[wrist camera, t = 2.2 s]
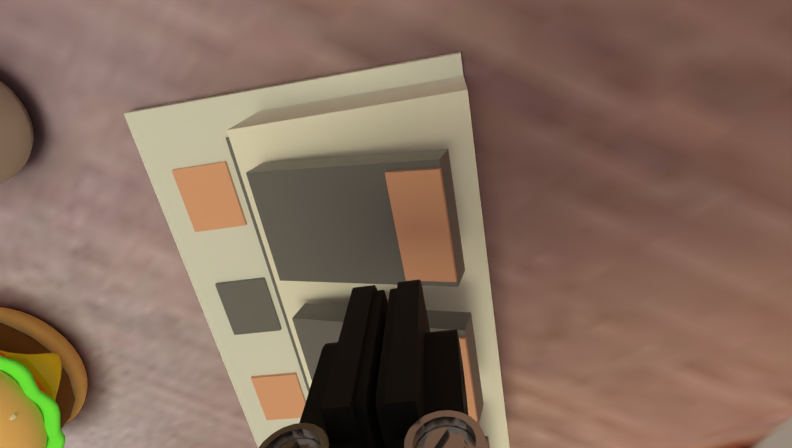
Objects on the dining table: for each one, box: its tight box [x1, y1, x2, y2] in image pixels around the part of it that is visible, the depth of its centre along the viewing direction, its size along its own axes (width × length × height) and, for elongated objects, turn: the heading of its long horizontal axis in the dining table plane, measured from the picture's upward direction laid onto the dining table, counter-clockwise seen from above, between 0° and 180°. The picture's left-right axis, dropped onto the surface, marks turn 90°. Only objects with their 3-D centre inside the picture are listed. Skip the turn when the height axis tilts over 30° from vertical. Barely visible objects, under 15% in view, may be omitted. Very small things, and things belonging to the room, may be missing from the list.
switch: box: [246, 148, 465, 287], centre depth 19 cm, size 8×5×1 cm, turn 100°
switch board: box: [124, 52, 509, 448], centre depth 26 cm, size 17×24×5 cm
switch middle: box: [292, 303, 484, 423], centre depth 22 cm, size 8×5×1 cm, turn 100°
